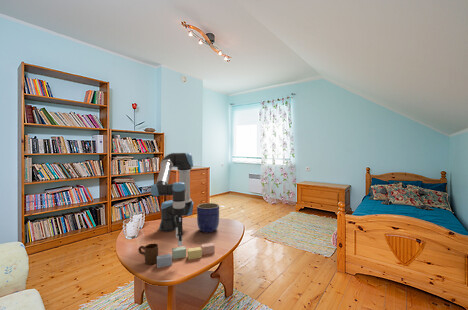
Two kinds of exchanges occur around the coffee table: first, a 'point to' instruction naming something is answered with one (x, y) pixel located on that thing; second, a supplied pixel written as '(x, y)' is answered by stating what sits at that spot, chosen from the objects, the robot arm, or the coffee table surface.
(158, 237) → the coffee table surface
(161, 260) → the slate brick
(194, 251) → the mustard brick
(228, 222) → the coffee table surface
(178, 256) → the sage brick
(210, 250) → the terracotta brick
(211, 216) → the planter
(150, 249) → the mug
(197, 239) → the coffee table surface
